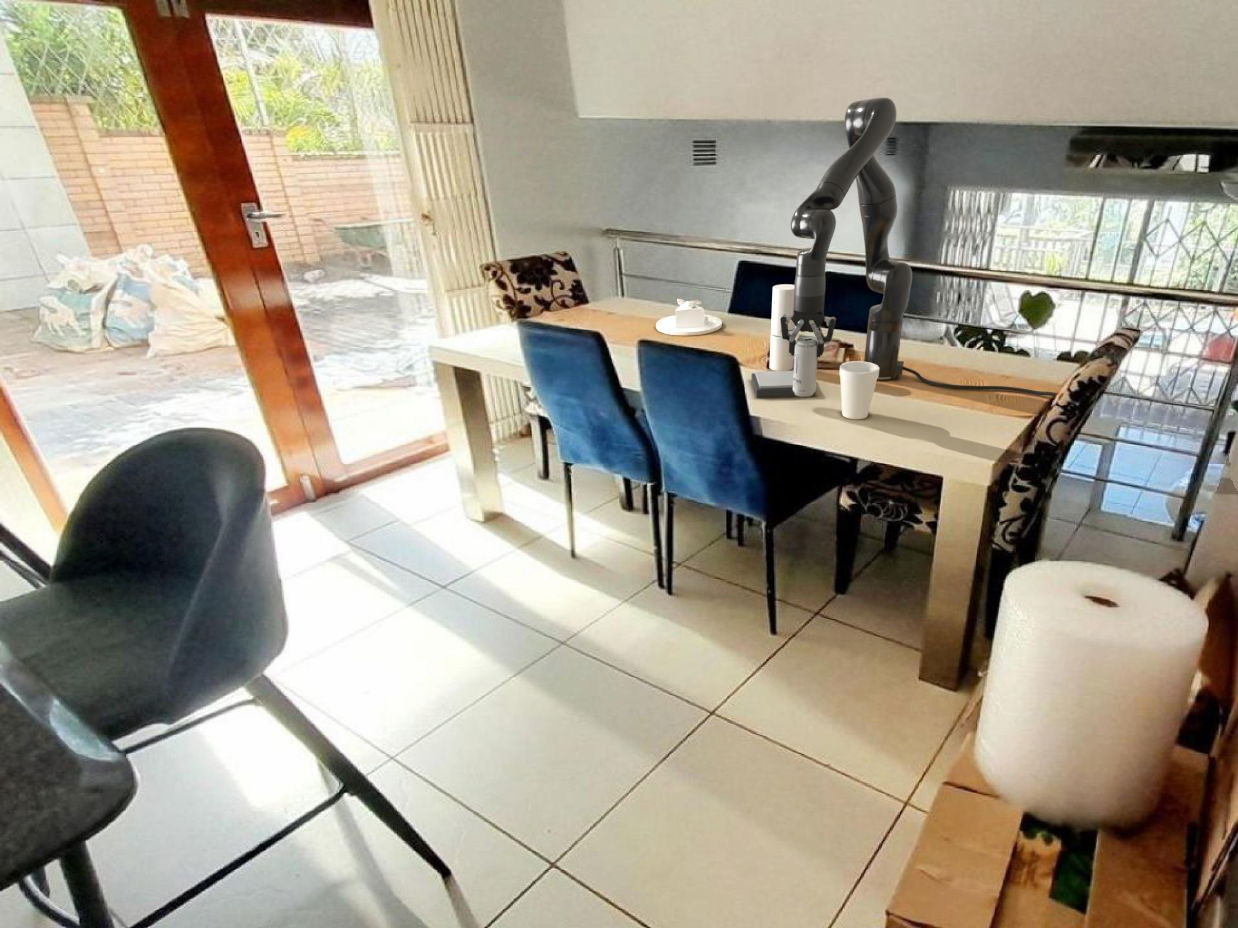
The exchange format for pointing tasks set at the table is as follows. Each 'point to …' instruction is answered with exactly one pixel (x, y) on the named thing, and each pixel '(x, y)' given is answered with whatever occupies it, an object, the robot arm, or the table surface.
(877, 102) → the robot arm
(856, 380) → the foam cup
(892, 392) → the table surface
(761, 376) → the scale
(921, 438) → the table surface
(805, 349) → the energy drink can
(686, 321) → the dish
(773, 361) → the cylindrical container
